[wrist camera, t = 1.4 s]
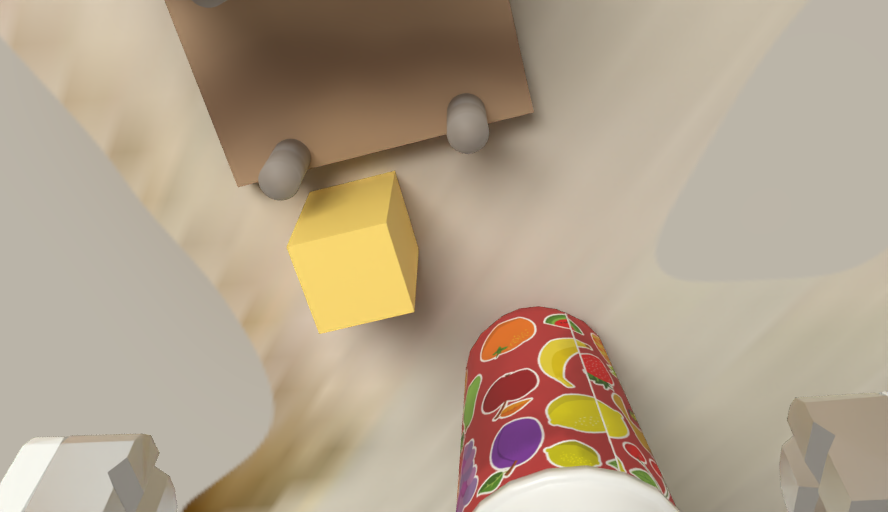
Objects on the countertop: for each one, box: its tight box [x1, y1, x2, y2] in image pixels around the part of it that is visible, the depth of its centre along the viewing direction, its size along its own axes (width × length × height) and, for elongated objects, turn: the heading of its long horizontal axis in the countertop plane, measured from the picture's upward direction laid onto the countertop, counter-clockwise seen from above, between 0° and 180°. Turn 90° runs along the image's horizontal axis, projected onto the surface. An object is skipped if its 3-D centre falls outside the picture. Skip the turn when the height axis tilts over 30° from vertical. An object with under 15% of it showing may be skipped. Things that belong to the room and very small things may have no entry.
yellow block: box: [287, 171, 419, 334], centre depth 35 cm, size 4×4×6 cm
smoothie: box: [456, 306, 680, 512], centre depth 32 cm, size 8×8×20 cm
